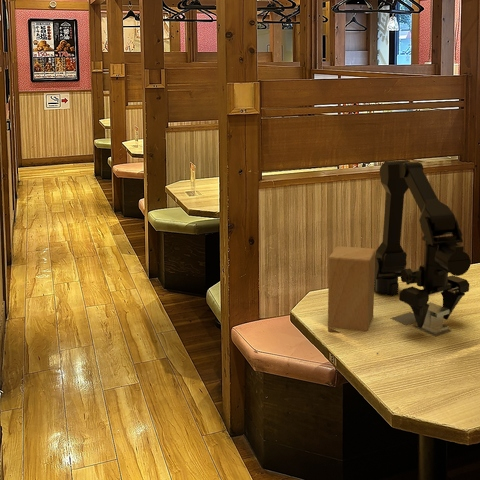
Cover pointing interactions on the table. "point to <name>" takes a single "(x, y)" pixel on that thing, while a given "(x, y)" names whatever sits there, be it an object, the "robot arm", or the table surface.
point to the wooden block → (351, 288)
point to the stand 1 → (405, 318)
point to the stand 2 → (432, 333)
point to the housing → (435, 319)
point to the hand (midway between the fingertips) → (432, 323)
